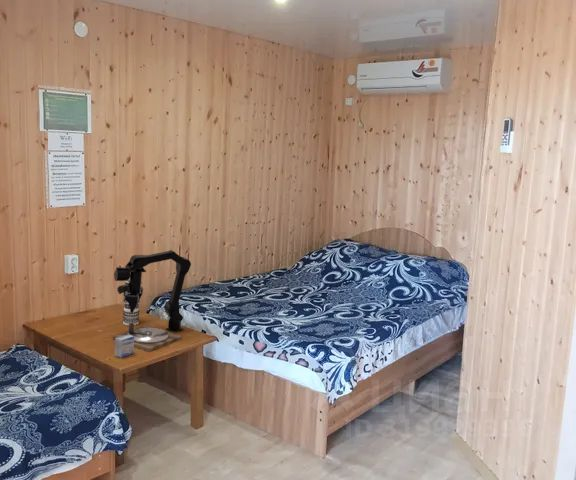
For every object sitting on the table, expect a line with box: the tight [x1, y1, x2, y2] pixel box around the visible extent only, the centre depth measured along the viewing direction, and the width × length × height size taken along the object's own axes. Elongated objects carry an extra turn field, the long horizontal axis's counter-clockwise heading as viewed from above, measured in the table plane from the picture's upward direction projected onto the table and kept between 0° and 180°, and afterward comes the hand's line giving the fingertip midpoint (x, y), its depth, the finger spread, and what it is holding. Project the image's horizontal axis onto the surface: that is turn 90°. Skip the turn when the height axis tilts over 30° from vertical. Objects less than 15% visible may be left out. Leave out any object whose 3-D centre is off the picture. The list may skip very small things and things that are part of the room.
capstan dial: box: [128, 323, 168, 343], centre depth 289 cm, size 20×20×6 cm
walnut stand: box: [112, 325, 183, 353], centre depth 289 cm, size 24×24×2 cm
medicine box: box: [114, 335, 135, 359], centre depth 267 cm, size 8×4×9 cm, turn 148°
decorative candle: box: [122, 278, 141, 326], centre depth 309 cm, size 9×9×25 cm
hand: (133, 309), depth 292 cm, fingers open, 9 cm apart
